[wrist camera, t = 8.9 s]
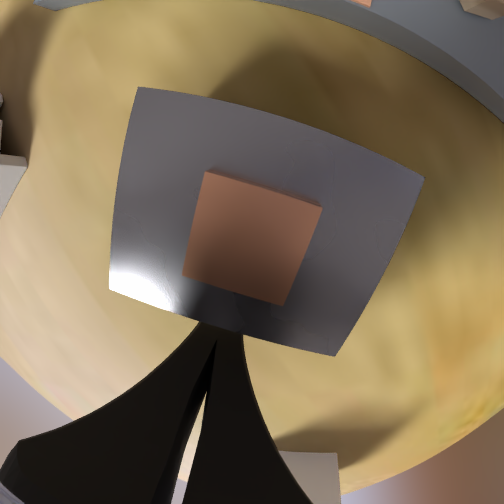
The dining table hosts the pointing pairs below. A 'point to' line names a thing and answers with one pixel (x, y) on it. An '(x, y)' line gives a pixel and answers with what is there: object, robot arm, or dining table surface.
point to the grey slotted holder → (9, 172)
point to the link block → (253, 219)
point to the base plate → (416, 37)
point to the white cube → (315, 475)
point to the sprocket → (484, 8)
